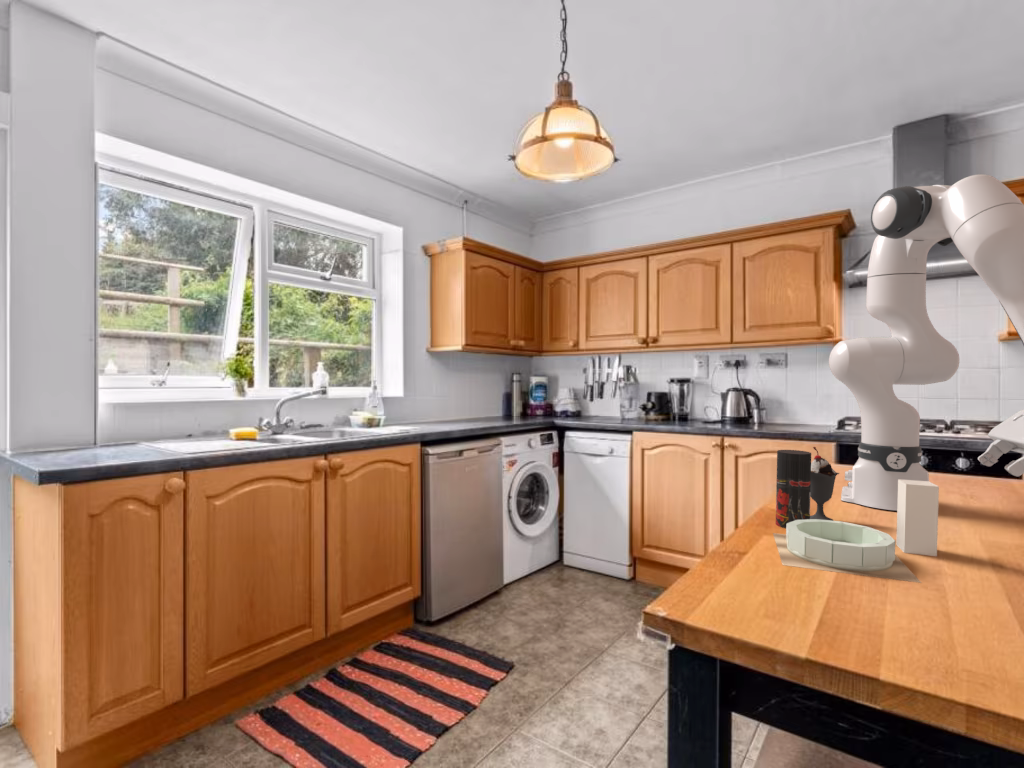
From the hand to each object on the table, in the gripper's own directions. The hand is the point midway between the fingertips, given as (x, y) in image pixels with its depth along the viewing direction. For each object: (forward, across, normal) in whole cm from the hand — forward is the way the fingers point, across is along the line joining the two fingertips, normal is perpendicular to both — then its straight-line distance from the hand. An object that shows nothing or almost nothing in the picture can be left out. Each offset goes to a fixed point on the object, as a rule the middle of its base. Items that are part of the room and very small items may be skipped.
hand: (995, 467), depth 88 cm
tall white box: (+18, 0, +4) cm, 19 cm away
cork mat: (+27, +8, -6) cm, 29 cm away
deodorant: (+31, -8, -9) cm, 33 cm away
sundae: (+27, -17, -5) cm, 32 cm away
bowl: (+27, +8, -6) cm, 29 cm away
